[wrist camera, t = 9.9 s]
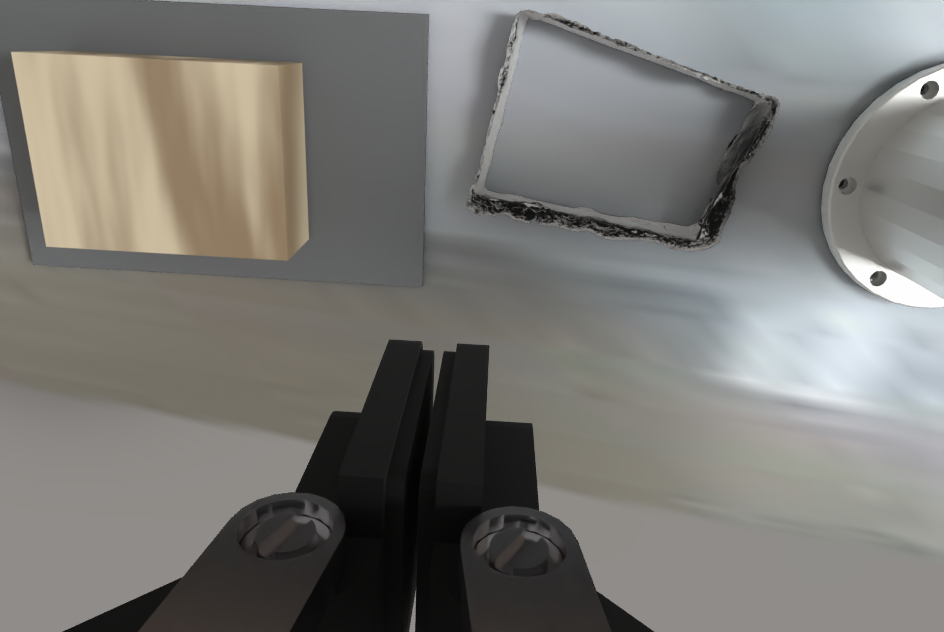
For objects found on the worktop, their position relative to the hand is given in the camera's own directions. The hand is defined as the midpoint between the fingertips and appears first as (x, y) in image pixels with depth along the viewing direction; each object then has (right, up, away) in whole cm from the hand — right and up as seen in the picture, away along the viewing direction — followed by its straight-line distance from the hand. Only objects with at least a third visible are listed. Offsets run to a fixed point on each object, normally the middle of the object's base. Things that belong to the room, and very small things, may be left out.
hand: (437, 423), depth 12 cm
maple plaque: (-8, +9, +23) cm, 26 cm away
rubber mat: (-13, +11, +26) cm, 31 cm away
